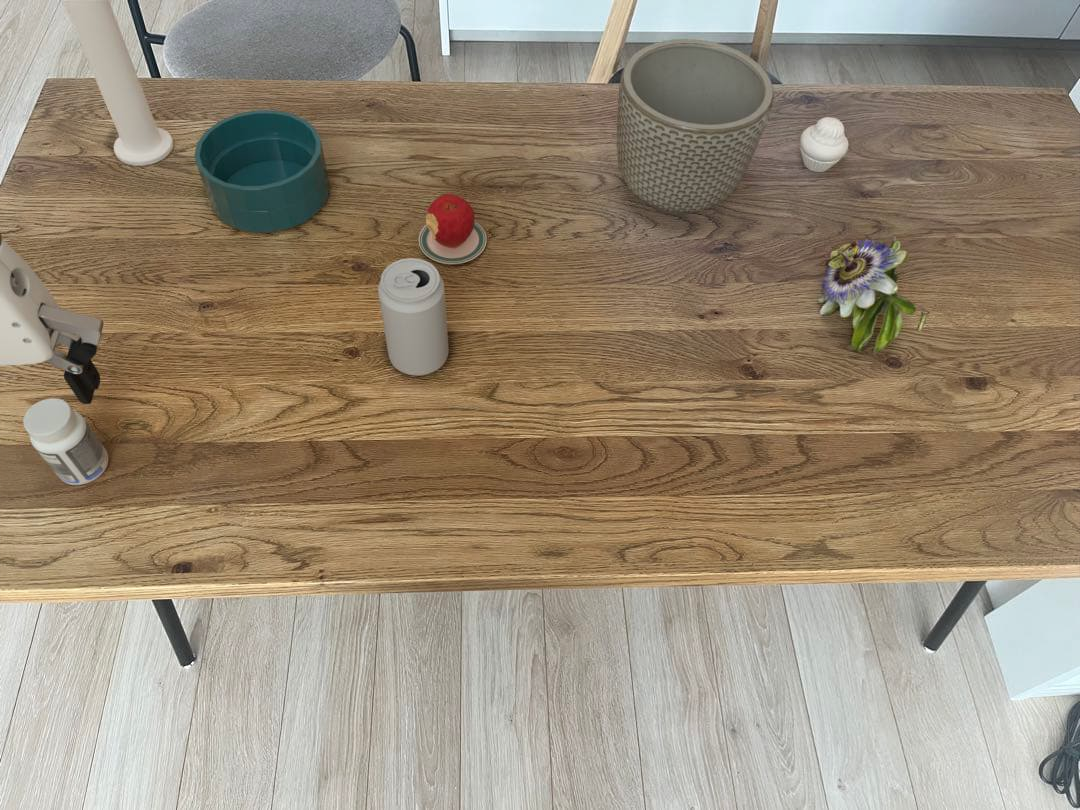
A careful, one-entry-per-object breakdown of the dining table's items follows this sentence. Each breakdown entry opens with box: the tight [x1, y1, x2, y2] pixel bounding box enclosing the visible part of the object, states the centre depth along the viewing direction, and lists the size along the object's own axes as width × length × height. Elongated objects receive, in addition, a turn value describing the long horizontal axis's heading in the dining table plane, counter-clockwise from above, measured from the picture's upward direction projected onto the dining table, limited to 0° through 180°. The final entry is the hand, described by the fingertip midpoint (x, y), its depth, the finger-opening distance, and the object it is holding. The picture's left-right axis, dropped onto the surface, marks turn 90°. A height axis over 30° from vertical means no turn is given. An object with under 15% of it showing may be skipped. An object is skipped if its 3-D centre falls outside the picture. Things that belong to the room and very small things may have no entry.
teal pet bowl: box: [193, 109, 330, 233], centre depth 103 cm, size 14×14×7 cm
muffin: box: [799, 116, 849, 173], centre depth 112 cm, size 6×6×7 cm
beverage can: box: [377, 257, 450, 376], centre depth 88 cm, size 6×6×12 cm
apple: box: [418, 193, 487, 265], centre depth 100 cm, size 8×8×6 cm
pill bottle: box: [22, 397, 109, 486], centre depth 80 cm, size 5×5×8 cm
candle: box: [61, 0, 174, 167], centre depth 100 cm, size 7×7×25 cm
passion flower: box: [816, 235, 930, 354], centre depth 96 cm, size 11×11×12 cm
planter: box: [616, 38, 774, 216], centre depth 103 cm, size 17×17×16 cm
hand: (31, 393), depth 73 cm, fingers open, 9 cm apart
